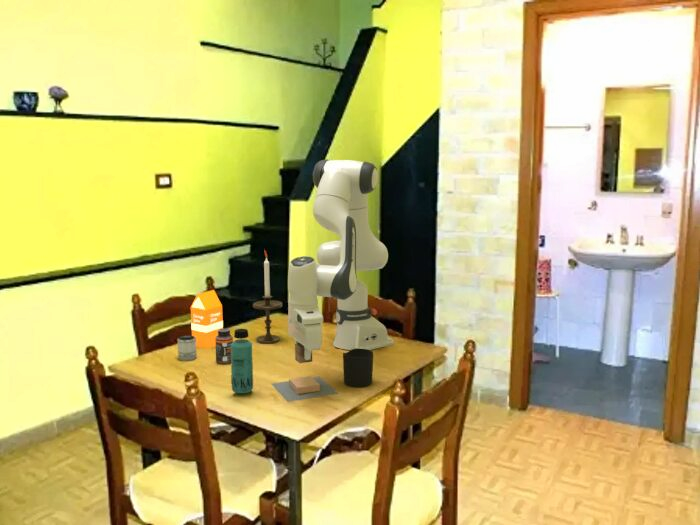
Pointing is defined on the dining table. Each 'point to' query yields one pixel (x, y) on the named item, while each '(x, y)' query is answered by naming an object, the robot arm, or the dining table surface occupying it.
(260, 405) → the dining table surface
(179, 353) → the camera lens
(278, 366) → the dining table surface
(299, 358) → the block
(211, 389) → the dining table surface
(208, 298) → the orange juice
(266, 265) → the candlestick
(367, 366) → the pen holder
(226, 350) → the supplement bottle
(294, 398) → the mat
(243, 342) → the beverage bottle
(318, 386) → the tile
